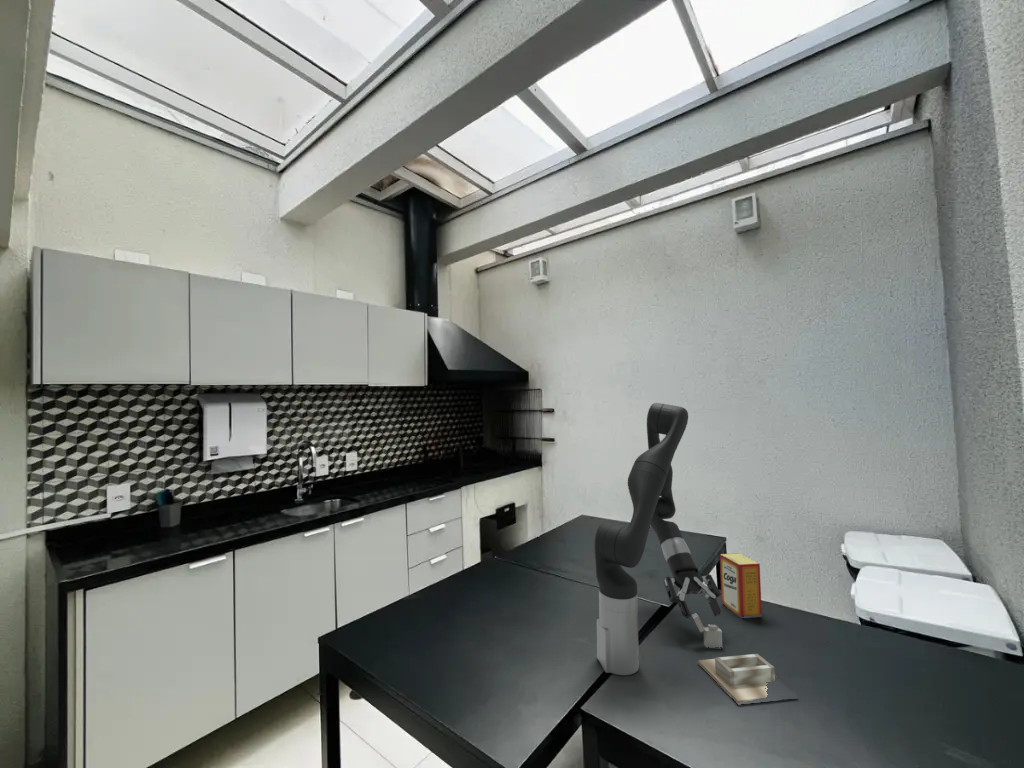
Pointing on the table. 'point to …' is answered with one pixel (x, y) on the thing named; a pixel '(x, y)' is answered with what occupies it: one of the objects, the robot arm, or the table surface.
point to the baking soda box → (740, 584)
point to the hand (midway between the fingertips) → (703, 616)
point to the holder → (741, 675)
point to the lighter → (709, 633)
